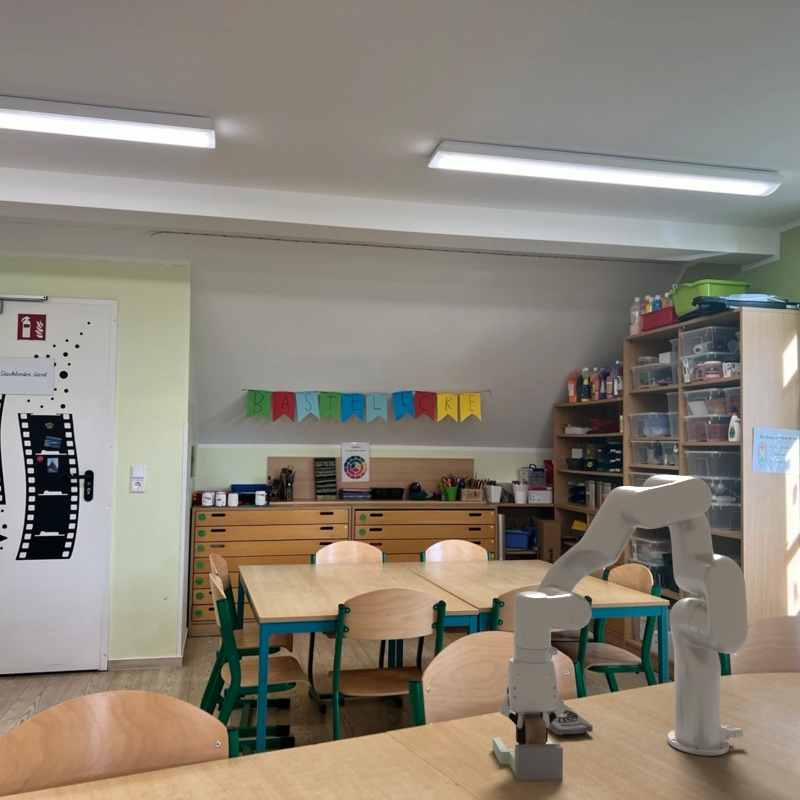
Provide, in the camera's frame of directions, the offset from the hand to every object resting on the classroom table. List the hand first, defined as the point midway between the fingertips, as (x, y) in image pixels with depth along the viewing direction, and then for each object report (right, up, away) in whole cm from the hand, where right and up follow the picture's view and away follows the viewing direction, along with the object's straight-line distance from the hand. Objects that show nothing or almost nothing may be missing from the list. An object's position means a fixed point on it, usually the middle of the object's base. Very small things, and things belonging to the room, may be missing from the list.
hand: (531, 744), depth 151 cm
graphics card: (+10, -7, +22) cm, 25 cm away
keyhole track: (0, -4, 0) cm, 4 cm away
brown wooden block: (0, -3, 0) cm, 3 cm away
